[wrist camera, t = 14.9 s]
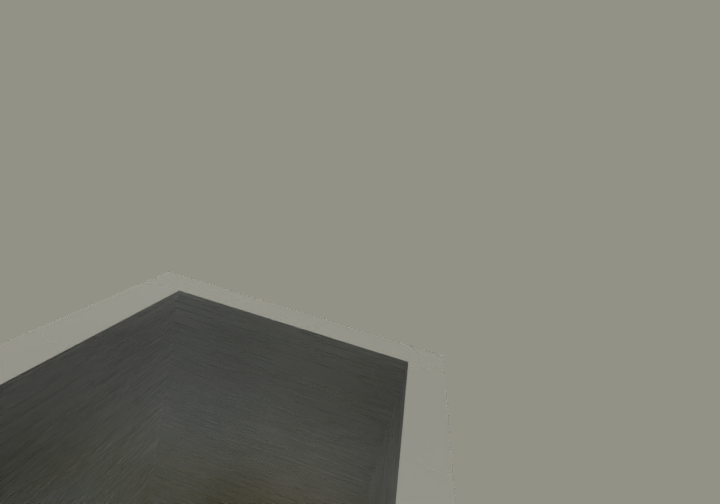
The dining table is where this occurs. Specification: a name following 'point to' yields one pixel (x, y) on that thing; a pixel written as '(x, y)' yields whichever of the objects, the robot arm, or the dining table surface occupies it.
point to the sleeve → (218, 406)
